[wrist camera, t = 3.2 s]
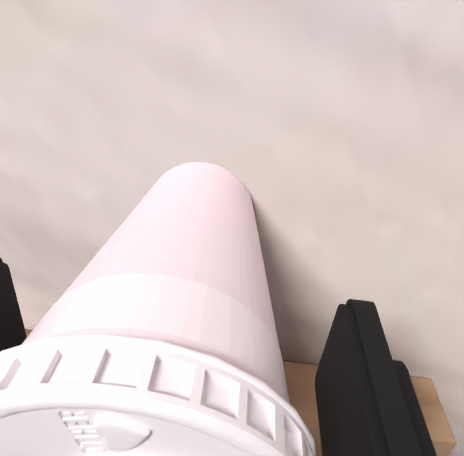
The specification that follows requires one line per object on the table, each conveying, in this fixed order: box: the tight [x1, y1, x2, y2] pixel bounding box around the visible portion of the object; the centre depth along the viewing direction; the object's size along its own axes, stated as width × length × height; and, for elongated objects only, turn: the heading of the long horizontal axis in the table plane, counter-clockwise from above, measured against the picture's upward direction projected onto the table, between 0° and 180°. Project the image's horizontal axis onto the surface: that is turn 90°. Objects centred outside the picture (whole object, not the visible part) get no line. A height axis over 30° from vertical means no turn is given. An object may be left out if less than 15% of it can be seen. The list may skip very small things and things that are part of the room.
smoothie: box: [0, 162, 316, 456], centre depth 9 cm, size 6×6×14 cm
